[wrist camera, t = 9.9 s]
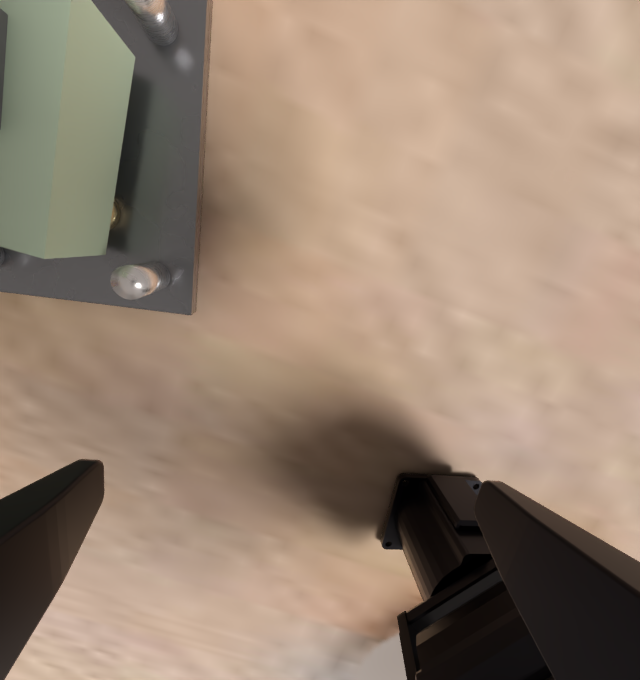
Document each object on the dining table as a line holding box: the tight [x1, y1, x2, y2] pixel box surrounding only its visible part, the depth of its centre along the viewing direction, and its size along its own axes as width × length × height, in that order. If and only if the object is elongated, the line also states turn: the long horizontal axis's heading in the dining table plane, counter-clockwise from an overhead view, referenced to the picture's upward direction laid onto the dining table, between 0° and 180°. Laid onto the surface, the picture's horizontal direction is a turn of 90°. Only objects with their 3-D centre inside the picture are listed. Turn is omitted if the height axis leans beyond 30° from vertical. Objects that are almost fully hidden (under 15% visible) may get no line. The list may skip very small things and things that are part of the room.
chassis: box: [0, 0, 213, 315], centre depth 13 cm, size 14×11×4 cm
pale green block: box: [0, 0, 135, 259], centre depth 11 cm, size 8×5×5 cm, turn 162°
